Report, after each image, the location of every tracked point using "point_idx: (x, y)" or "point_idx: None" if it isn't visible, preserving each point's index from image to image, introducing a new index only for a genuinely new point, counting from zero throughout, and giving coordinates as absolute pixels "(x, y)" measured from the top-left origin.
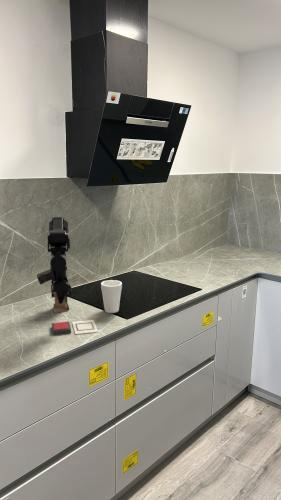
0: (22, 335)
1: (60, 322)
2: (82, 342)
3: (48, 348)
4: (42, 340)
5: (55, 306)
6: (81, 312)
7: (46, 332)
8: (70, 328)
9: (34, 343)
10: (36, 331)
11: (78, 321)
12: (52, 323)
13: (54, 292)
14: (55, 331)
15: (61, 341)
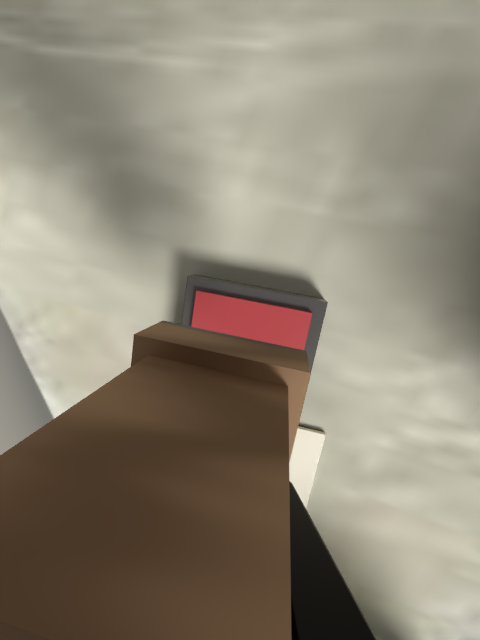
0: (267, 66)
1: None
2: (55, 390)
3: (37, 208)
4: (142, 194)
5: (141, 359)
6: (465, 541)
7: (246, 243)
8: None
9: (119, 137)
10: (291, 180)
11: (312, 469)
12: (319, 305)
13: (202, 571)
14: (186, 292)
15: (96, 297)
